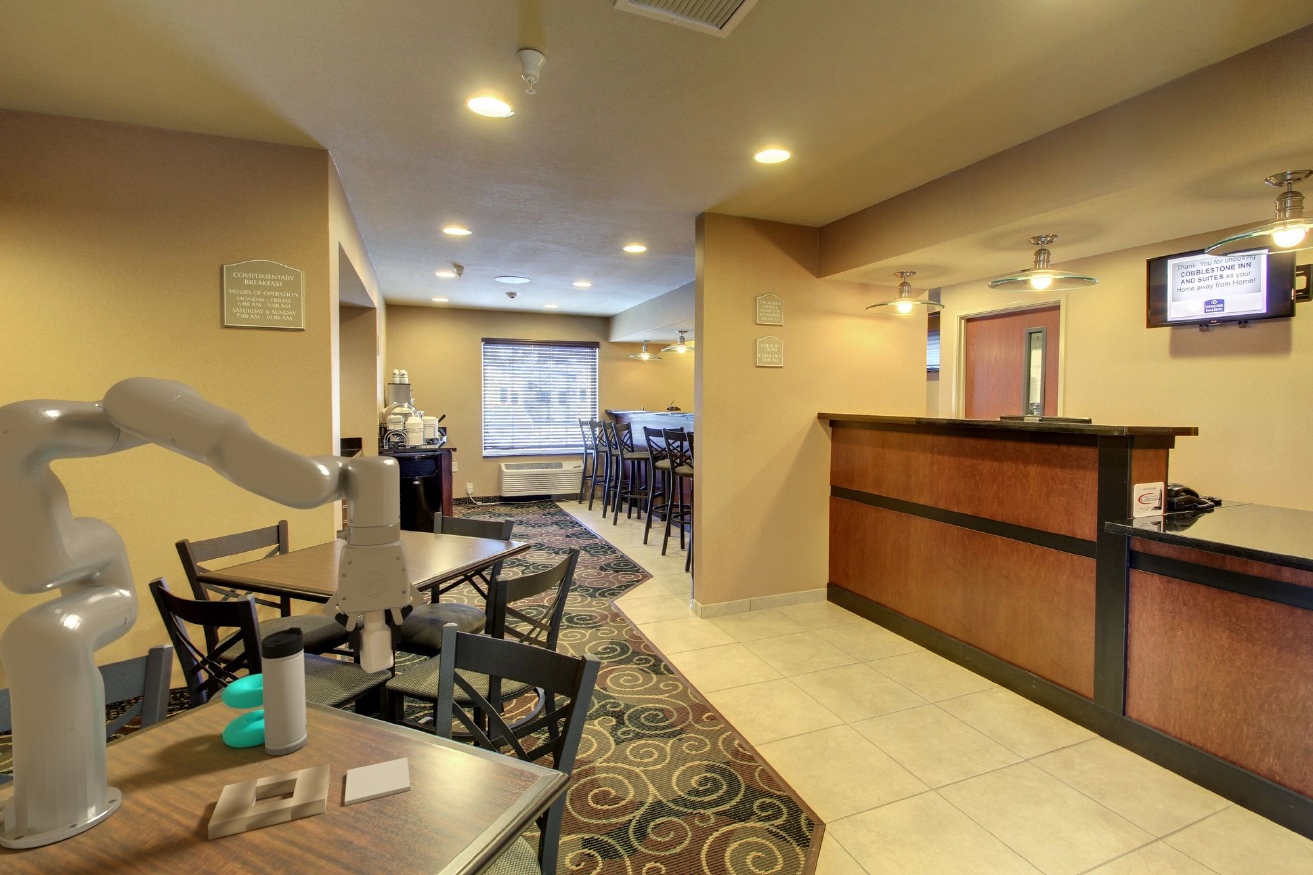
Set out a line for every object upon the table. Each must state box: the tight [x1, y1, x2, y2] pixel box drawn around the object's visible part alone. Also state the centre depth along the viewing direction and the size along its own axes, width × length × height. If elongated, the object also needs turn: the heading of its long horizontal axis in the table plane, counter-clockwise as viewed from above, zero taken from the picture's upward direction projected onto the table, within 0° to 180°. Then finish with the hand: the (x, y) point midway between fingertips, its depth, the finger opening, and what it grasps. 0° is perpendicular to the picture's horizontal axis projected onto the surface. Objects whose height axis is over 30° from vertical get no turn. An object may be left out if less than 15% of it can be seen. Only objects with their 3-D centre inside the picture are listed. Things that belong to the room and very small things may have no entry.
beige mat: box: [344, 757, 411, 806], centre depth 96 cm, size 9×9×1 cm
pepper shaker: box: [359, 609, 394, 674], centre depth 95 cm, size 4×4×10 cm
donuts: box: [221, 673, 265, 748], centre depth 110 cm, size 10×10×10 cm
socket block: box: [207, 763, 331, 841], centre depth 90 cm, size 14×10×2 cm
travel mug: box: [261, 626, 308, 756], centre depth 106 cm, size 6×7×20 cm
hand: (375, 649), depth 95 cm, fingers closed on pepper shaker, 4 cm apart
